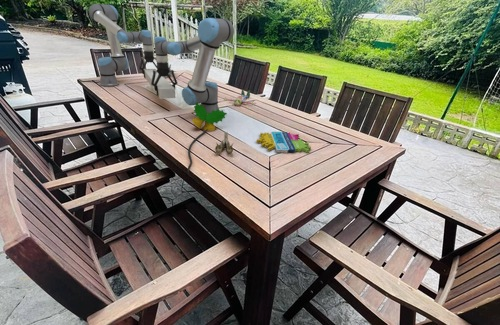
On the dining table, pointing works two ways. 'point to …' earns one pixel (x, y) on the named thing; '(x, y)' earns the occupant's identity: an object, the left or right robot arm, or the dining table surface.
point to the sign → (283, 142)
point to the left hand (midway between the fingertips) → (151, 77)
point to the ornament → (207, 117)
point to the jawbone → (224, 145)
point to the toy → (241, 99)
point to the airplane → (169, 72)
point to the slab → (160, 85)
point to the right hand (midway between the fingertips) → (165, 94)
